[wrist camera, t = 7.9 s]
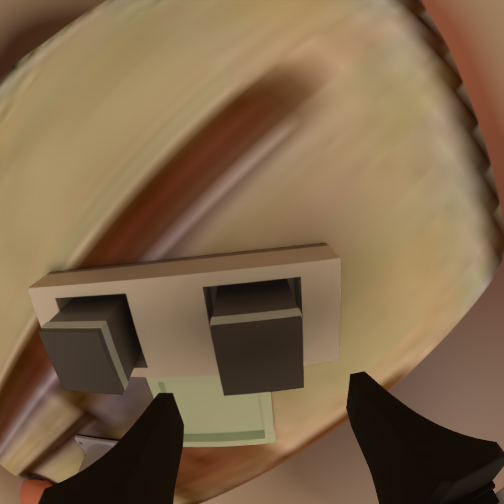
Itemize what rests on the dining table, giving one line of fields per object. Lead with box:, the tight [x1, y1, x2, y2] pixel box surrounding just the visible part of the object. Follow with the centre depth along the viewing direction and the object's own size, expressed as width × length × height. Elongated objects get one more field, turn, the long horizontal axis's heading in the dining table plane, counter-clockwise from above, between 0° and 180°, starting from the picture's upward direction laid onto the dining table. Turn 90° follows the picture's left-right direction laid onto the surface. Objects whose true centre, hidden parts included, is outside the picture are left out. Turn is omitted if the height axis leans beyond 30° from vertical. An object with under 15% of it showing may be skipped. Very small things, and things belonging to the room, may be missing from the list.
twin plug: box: [39, 293, 142, 395], centre depth 17 cm, size 4×4×6 cm
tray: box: [146, 375, 275, 447], centre depth 22 cm, size 9×9×2 cm
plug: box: [210, 278, 304, 396], centre depth 17 cm, size 4×4×6 cm
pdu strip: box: [28, 243, 341, 377], centre depth 19 cm, size 7×20×3 cm, turn 96°
